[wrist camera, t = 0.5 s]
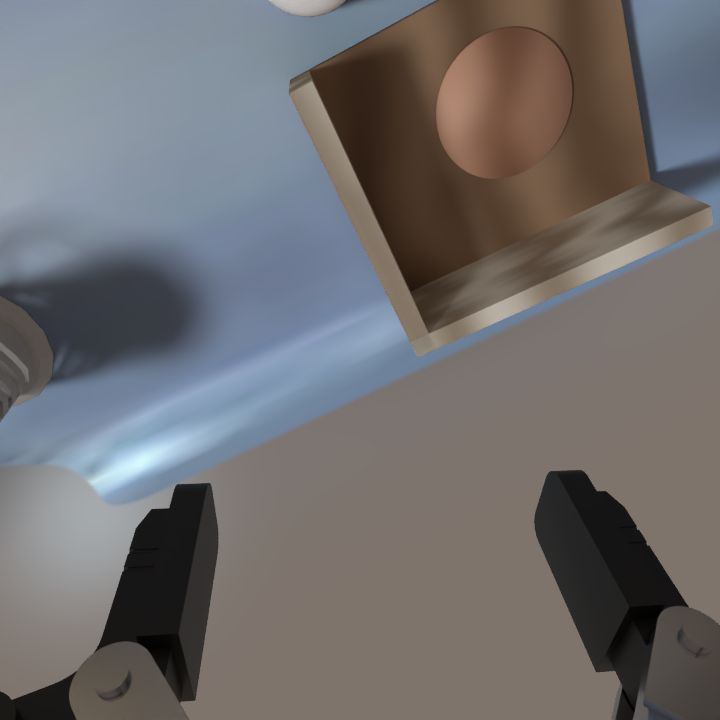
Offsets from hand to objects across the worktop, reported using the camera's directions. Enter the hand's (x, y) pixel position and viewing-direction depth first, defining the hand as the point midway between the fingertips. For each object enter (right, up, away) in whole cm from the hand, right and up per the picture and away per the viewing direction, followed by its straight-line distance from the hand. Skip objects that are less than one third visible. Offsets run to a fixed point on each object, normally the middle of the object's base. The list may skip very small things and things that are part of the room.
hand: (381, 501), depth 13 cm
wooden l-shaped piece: (+7, +17, +21) cm, 28 cm away
